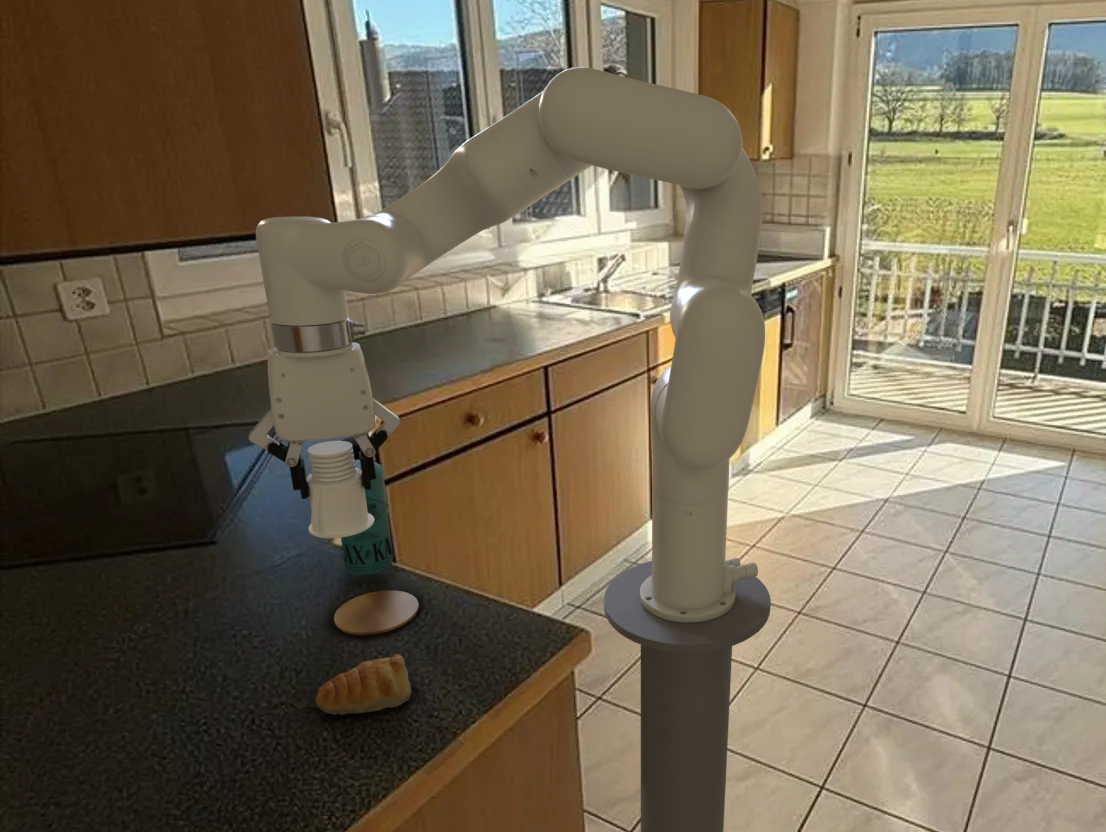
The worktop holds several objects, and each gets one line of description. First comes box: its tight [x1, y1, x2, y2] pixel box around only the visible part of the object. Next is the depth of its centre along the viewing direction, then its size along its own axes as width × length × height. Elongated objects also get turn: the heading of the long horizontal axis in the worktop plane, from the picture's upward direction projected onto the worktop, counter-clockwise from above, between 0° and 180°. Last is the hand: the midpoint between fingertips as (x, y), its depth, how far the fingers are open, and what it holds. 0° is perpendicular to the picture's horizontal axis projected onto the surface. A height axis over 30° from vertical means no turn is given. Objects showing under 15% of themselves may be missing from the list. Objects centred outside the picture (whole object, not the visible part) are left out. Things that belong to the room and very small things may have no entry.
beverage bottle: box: [339, 436, 395, 576], centre depth 107 cm, size 6×7×20 cm
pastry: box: [315, 653, 412, 716], centre depth 85 cm, size 9×7×4 cm
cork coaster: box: [333, 589, 420, 636], centre depth 101 cm, size 10×10×1 cm
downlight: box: [306, 440, 374, 539], centre depth 91 cm, size 8×7×10 cm
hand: (336, 488), depth 91 cm, fingers closed on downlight, 5 cm apart
